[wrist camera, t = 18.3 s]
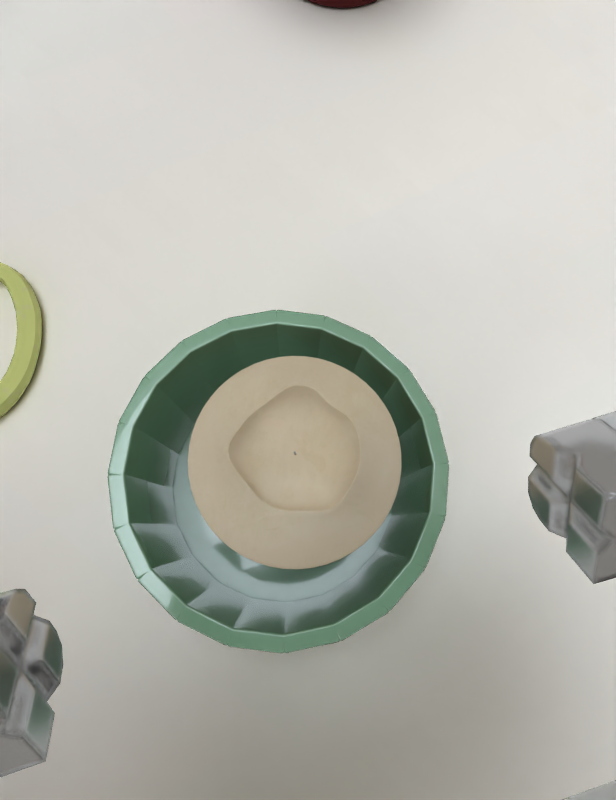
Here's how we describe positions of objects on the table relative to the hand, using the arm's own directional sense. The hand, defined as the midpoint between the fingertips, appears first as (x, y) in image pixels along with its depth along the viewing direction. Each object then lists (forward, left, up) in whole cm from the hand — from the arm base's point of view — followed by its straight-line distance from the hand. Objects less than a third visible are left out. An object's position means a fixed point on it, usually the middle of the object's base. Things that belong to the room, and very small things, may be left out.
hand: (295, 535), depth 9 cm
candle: (0, +2, -14) cm, 14 cm away
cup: (0, +2, -14) cm, 14 cm away
